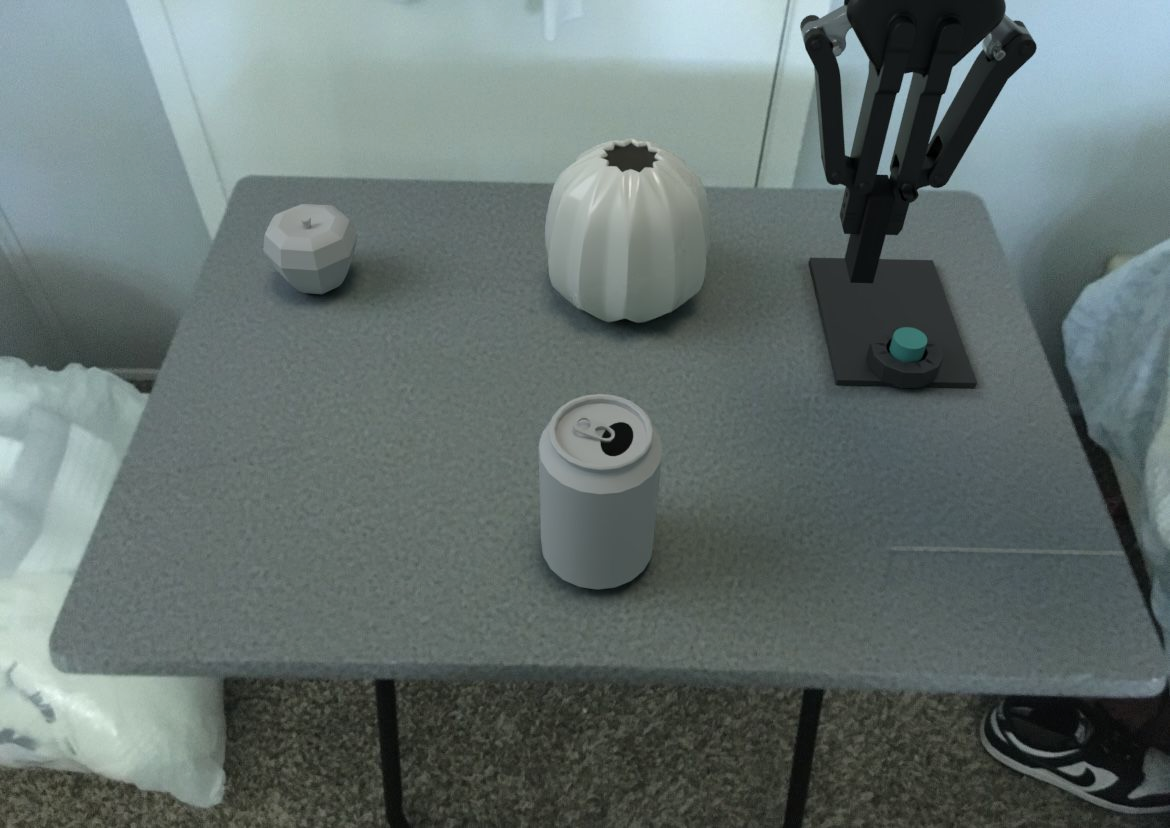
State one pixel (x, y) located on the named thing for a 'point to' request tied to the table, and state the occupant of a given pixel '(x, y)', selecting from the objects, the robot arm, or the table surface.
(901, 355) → the button
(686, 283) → the vase
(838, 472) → the table surface
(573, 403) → the can
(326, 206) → the apple
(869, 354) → the scale
